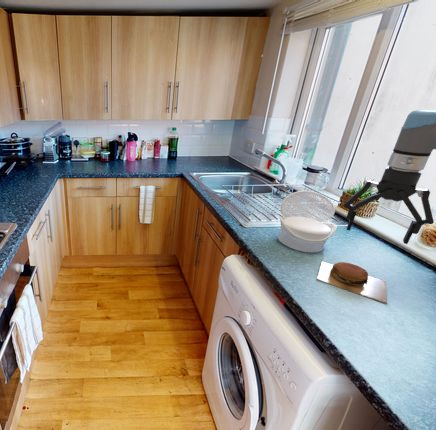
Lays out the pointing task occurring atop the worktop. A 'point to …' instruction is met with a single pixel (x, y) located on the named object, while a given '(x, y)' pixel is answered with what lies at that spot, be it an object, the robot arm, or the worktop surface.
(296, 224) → the plastic deli container
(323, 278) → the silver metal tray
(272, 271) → the worktop surface
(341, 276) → the burger
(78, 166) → the worktop surface
